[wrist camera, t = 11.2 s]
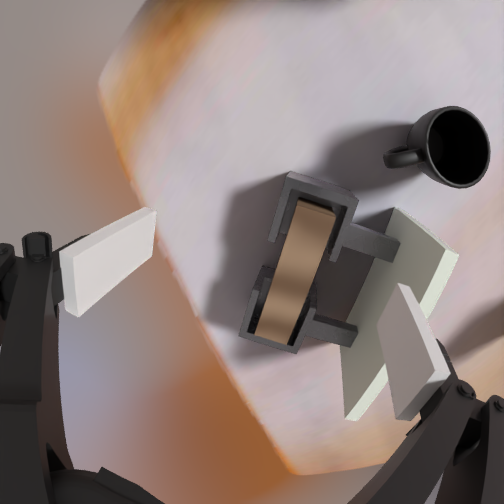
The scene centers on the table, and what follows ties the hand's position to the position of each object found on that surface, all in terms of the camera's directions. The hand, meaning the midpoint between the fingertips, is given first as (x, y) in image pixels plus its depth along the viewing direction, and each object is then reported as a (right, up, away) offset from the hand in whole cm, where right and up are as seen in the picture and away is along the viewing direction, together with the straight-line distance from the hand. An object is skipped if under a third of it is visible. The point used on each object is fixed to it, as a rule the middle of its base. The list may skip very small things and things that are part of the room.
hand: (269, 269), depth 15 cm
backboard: (+15, -3, +23) cm, 27 cm away
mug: (+19, +14, +16) cm, 29 cm away
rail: (+4, -1, +21) cm, 21 cm away
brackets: (+8, 0, +23) cm, 25 cm away
